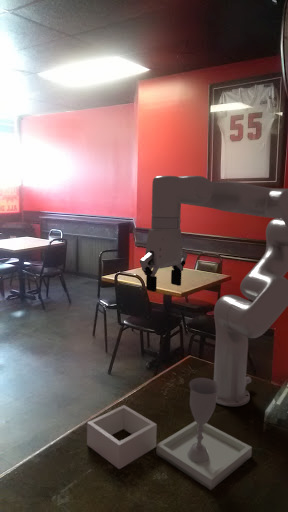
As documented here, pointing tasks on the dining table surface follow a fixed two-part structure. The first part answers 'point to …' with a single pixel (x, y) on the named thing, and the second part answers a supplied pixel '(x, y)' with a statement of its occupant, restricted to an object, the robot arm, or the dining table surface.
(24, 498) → the dining table surface
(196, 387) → the chalice
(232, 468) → the tray
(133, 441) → the sleeve
